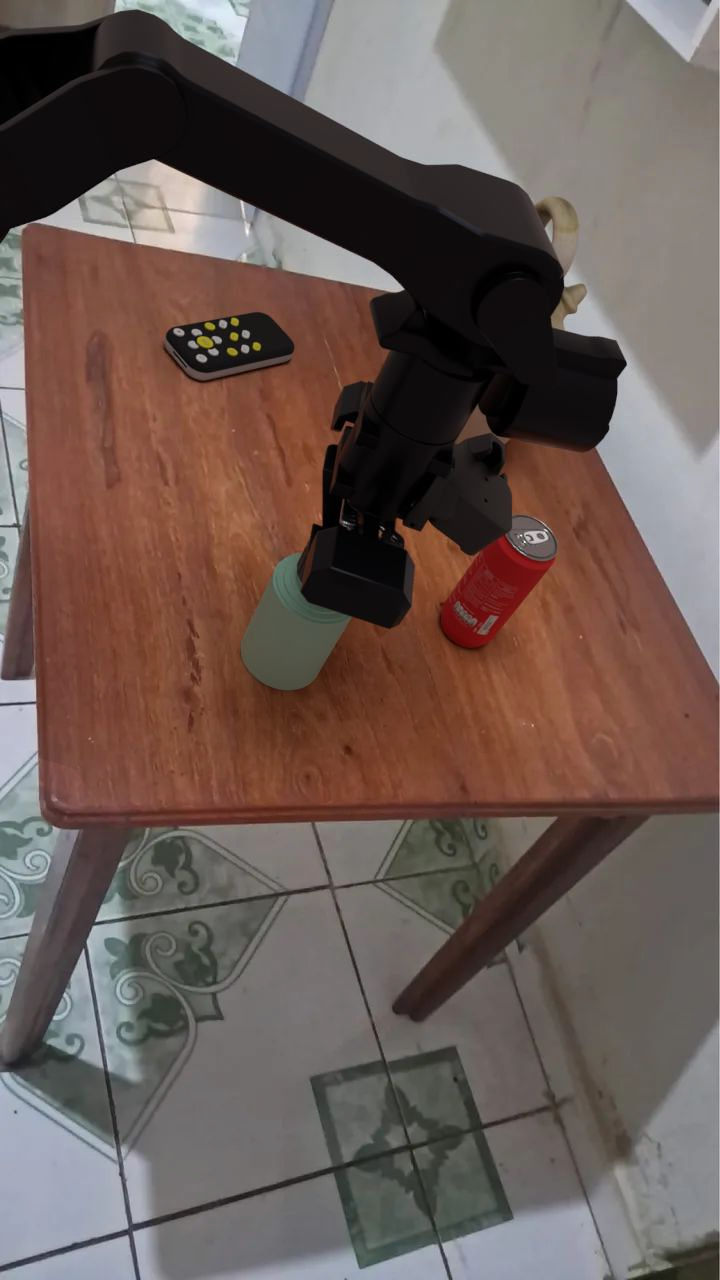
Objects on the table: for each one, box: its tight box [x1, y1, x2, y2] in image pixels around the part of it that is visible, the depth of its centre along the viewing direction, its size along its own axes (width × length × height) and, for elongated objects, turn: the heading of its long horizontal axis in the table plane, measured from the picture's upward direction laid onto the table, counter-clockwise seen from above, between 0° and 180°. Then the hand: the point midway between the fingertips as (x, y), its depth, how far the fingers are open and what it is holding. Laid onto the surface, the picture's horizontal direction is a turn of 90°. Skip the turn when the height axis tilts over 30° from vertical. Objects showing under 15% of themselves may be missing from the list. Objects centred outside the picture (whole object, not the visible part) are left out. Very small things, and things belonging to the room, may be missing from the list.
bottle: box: [239, 552, 353, 691], centre depth 69 cm, size 6×6×12 cm
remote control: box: [163, 311, 295, 381], centre depth 92 cm, size 6×13×2 cm, turn 131°
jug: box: [455, 195, 588, 445], centre depth 90 cm, size 15×16×25 cm
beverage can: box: [440, 513, 559, 649], centre depth 78 cm, size 5×5×12 cm
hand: (325, 578), depth 66 cm, fingers closed on cap, 4 cm apart
